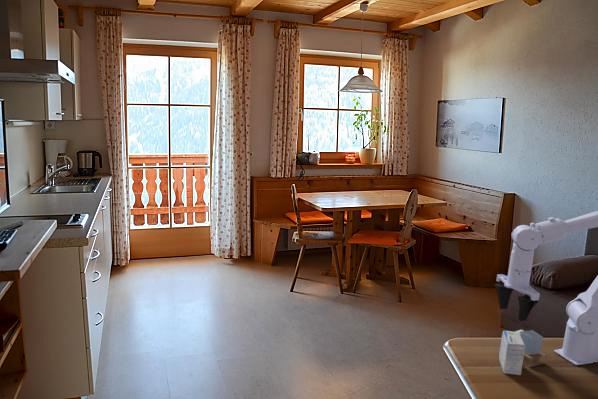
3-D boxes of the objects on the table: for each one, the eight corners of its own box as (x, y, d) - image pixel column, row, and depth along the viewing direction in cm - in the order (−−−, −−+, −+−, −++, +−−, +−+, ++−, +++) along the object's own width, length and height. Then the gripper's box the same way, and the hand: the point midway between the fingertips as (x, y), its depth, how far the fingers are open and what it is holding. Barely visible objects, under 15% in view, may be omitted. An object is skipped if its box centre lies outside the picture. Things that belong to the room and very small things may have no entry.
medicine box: (520, 376, 136) (526, 345, 134) (502, 373, 137) (507, 343, 135) (515, 361, 144) (519, 332, 142) (497, 358, 144) (502, 329, 143)
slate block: (529, 346, 147) (532, 330, 146) (540, 353, 143) (543, 336, 142) (517, 348, 146) (520, 331, 144) (528, 355, 142) (531, 338, 141)
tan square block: (526, 354, 149) (528, 344, 148) (544, 364, 143) (546, 354, 143) (511, 357, 146) (512, 347, 146) (528, 368, 141) (529, 358, 140)
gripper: (490, 260, 151) (484, 304, 154) (527, 279, 138) (519, 327, 140) (510, 259, 153) (503, 302, 156) (548, 277, 140) (540, 324, 143)
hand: (512, 314), depth 148 cm, fingers open, 7 cm apart
